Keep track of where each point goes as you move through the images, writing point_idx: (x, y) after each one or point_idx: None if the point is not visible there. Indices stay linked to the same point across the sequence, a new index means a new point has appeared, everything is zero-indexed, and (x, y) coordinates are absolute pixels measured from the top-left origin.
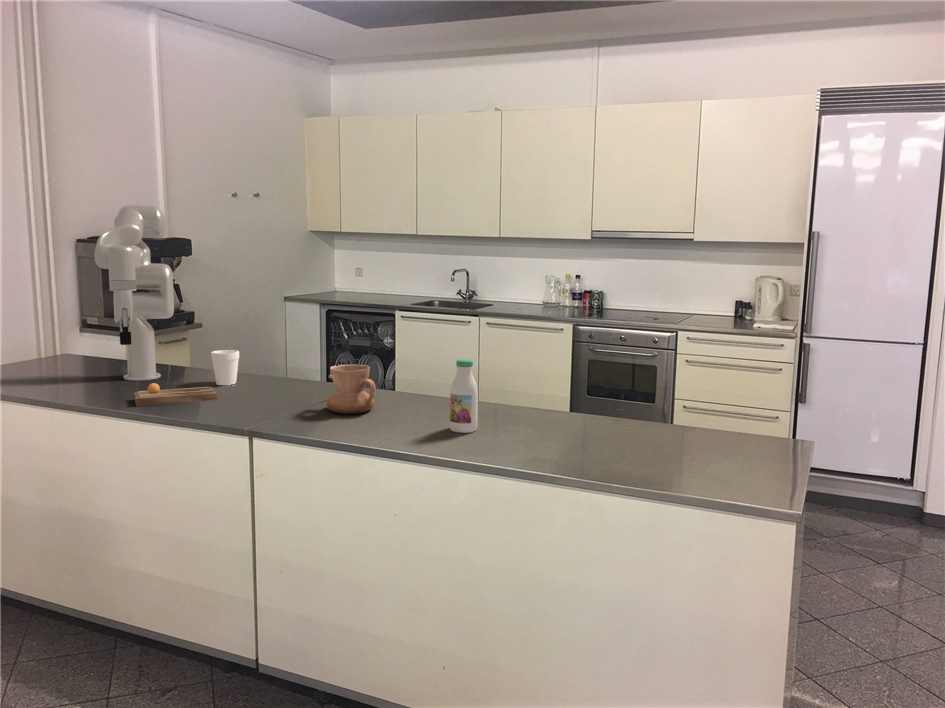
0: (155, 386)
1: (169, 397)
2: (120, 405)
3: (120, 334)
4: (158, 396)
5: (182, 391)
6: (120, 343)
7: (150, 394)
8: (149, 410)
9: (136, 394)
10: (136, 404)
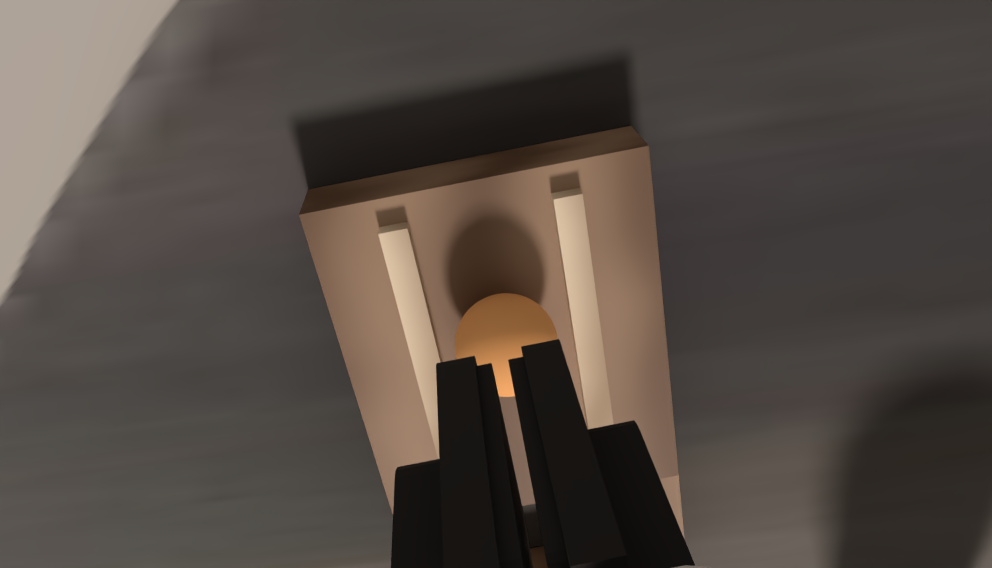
0: None
1: (370, 435)
2: (391, 45)
3: (450, 548)
4: (389, 366)
5: None
6: (438, 376)
7: (405, 317)
8: (155, 304)
9: (519, 183)
10: (307, 196)
